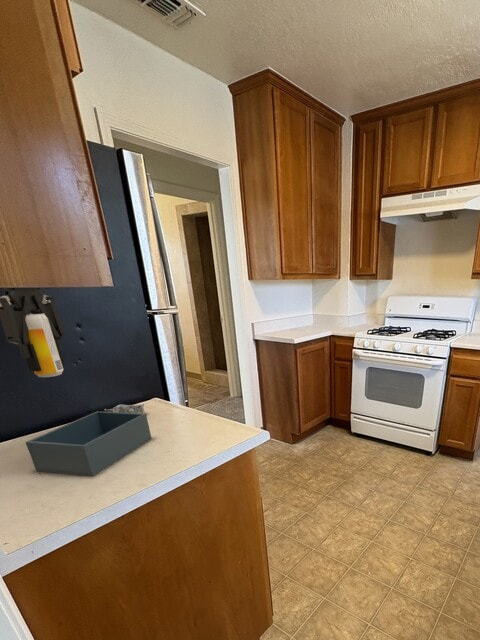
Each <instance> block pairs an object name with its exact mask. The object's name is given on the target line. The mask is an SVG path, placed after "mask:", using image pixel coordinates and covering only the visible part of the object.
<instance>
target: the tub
mask: <svg viewBox="0 0 480 640" xmlns="http://www.w3.org/2000/svg"><path fill="white" fill-rule="evenodd" d="M152 439H153V438H152V434H151V429H150V425H149V422H148V416H147V413H145V414H139V413H120V412H107V411H99V410H97V411H95V412H92V413H90V414H88V415H85V416H83V417H81V418H78V419H76V420H73V421H72V422H69V423H66V424H64V425H62V426H59V427H57V428H55V429H52V430H51V431H48V432H46V433H43V434H41V435H39V436H35V437H34V438H31V439H29V440H26V441H25V445H26V448H27V451H28V454H29V455H30V458H31V460H32V463H33V466H34V468H35V471H36V472H42V473H43V472H44V473H54V474H65V475H77V476H87V477H94V476H95V475H97V474H98V473H100V472H102V471H103V470H105V469H107V468H109V467H110V466H111V465H113V464H114V463H116V462H118V461H119V460H120V459H122V458H124V457H125V456H127V455H129V454H130V453H132V452H133V451H135V450H136V449H138V448H140V447H141V446H143V445H144V444H147V442H149V441H150V440H152Z"/></svg>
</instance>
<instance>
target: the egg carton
mask: <svg viewBox="0 0 480 640" xmlns="http://www.w3.org/2000/svg"><path fill="white" fill-rule="evenodd" d="M144 406H145V403H141V404H123V403H122V404H118V405H115V406H113V408H110V409H108V408H104V409H103V412H120V413H139V414H146V412H145V409H144Z"/></svg>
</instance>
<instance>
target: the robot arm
mask: <svg viewBox="0 0 480 640" xmlns="http://www.w3.org/2000/svg"><path fill="white" fill-rule="evenodd" d="M30 313H32V314H45V316H46V317H47V318H48V321H49V324H50V327H51V331H52V334H53V337H54V340H55V344H56V347H57V350H58V354H59V357H60V360H61V363H62V366H65V365H66V364H65V360H64V358H63V357H64V356H63V354H62V352H63V348H62V345H61V341H60V340H63V337H64V336H66V332H65V330H64V326H63V324H62V321H61V318H60V314H59V312H58V309H57V307H56V298H55V296H54V295H46V294H44V293H43V292H42V291H41V288H40V287H39V288H3V295H2V296H0V321H1V324H2V328H3V331H4V336H5V339H6V342H7V343H10V344H13V345H17V346H18V349H19V351H20V355H21V357H22V358H23V359H25V362H26V365H27V368H28V370H29V371H30V372H34V371H42V370H41V367H40V364H39V361H38V358H37V355H36V352H35V349H34V346H33V344H28V343H29V335H28V326H27V323H26V320H25V319H26V315H29V314H30Z"/></svg>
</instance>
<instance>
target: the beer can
mask: <svg viewBox="0 0 480 640" xmlns="http://www.w3.org/2000/svg"><path fill="white" fill-rule="evenodd" d="M29 313H30V314H29V315H26V319H25V320H26V323H27V326H28V335H29V343H28V344H33V346H34V349H35V352H36V355H37V358H38V361H39V364H40V367H41V370H42V371H33V372H34V375H36V376H37V377H38V378H51V377H57V376H61V375H62V374H63V371H64V366H63V365H62V363H61V360H60V357H59V354H58V350H57V347H56V344H55V340H54V337H53V334H52V331H51V327H50V324H49V321H48V318H47V317H46V316H45V314H32V313H31V312H29Z"/></svg>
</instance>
